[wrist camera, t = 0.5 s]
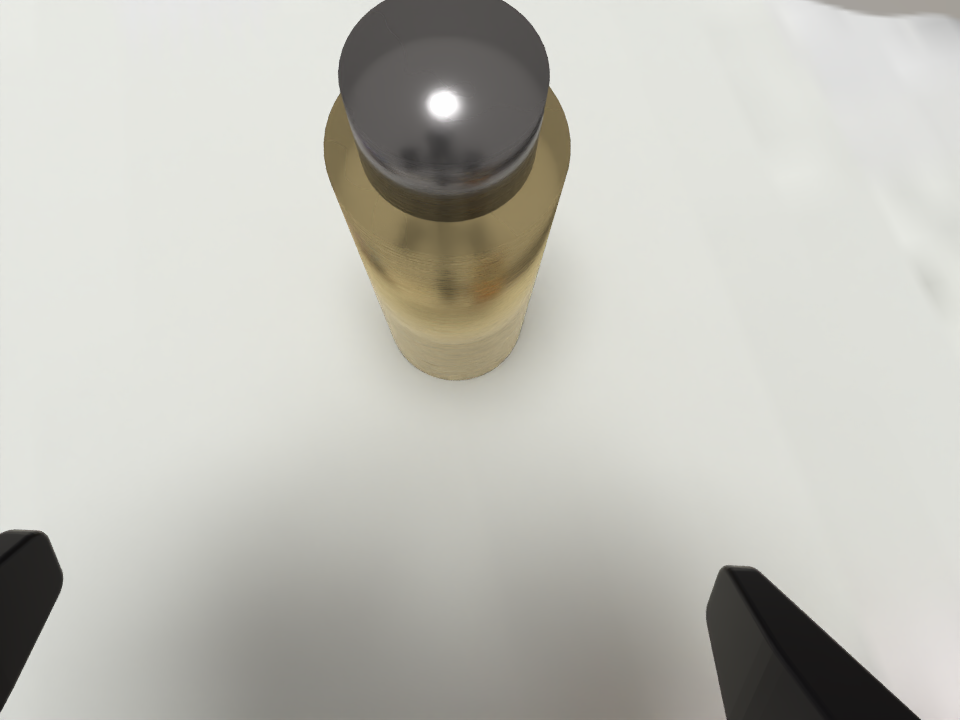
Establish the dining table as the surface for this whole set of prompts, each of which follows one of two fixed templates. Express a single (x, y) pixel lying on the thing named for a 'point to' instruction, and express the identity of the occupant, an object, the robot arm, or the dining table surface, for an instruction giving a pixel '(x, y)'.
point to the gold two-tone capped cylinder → (448, 173)
